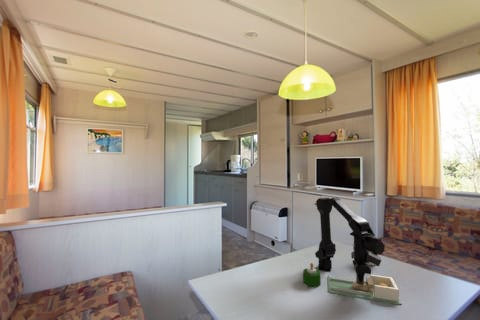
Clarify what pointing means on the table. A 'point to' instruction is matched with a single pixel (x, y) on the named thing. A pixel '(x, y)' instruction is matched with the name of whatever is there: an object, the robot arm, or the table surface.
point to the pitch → (380, 292)
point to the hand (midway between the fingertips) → (360, 280)
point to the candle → (311, 277)
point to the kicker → (364, 285)
